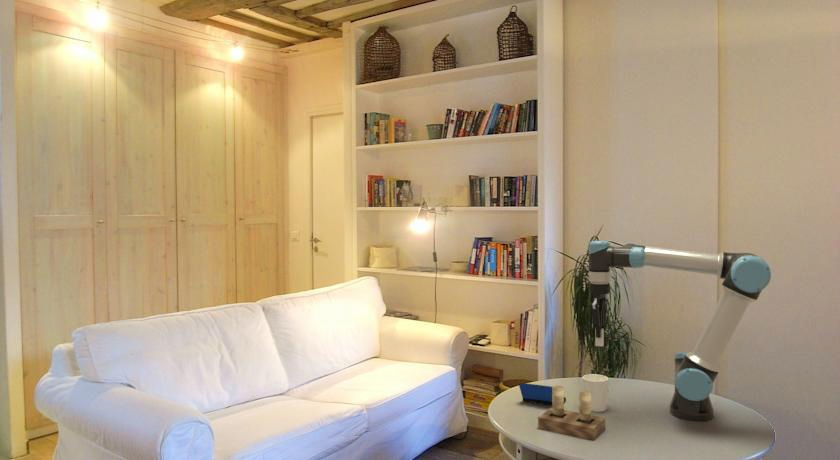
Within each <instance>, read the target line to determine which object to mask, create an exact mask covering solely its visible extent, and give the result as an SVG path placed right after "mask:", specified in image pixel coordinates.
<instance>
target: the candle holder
mask: <svg viewBox="0 0 840 460" xmlns="http://www.w3.org/2000/svg"><path fill="white" fill-rule="evenodd" d="M581 377H582V390H587V391H590V392H591V412H595V413H601V412H605V411H607V409H608V395H609V393H608V392H609V380H610V379H609V377H608V376H606V375H603V374H599V373H598V374H596V373H589V374H584V375H583V376H581Z"/></svg>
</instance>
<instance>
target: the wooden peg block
mask: <svg viewBox="0 0 840 460" xmlns="http://www.w3.org/2000/svg"><path fill="white" fill-rule="evenodd" d="M578 393H579V395H578V398H579V399H578V400H579V403H578V404H579V405H578V406H579V411H578V412H576V411H571V410H566V409H564V418H557V417H552V407H550V408H549V409H548V410H546V411H545V412H544V413H542V414H541V415H539V416H538V418H537V423H538V424H537V425H538V426H537V428H538V429H539V430H545V431H548V432H553V433H558V434H561V435H562V434H563V435H567V436H571V437H577V438H581V439H584V440H585V439H586V440H590V441H595V440H596V439H597V438H598V437H599V436H601V434H602V433H603V432H604V431H605V430H606V417H602V416H597V415H593V414H592V411H591V392H590V391H587V390H583V389H581V390H579V392H578Z"/></svg>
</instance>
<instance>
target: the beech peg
mask: <svg viewBox="0 0 840 460" xmlns="http://www.w3.org/2000/svg"><path fill="white" fill-rule="evenodd" d="M551 387H552V406H551V408H552V417H557V418H564V410H565V402H564V397H565V395H564V393H565V388H564V386H561V385H553V386H551Z"/></svg>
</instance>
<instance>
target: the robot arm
mask: <svg viewBox="0 0 840 460" xmlns="http://www.w3.org/2000/svg"><path fill="white" fill-rule="evenodd" d="M644 267H652V268H660V269H666V270H667V269H668V270H674V271H683V272H690V273H695V274H696V273H699V274H705V275H711V276H712V275H714V276H716V277H717V278H718V279H723V282H722V283H721V287H722V290H723V292H722V294H721V296H720V298H719V300H718V302H717V304H716V306H715V308H714V309H713V312H712V314H711V316H710V317H709V319H708V322H707V323H706V325H705V328H703V331H702V333H701V335H700V337H699V339H698V341H697V342H696V344H695V347H693V348H694V349H693V350H692V351H678V352H676V353H674V354H675V355H674V359H673V360H674V392H673V396H672V398H671V400H670V403H669V413H670V414H671V415H672V416H674V417H677V418H680V419H683V420H689V421H709V420H712V419H713V418H714V417H715V409H714V407H713V404H712V401H711V398H710V395H711V393H712V391H713V388H714V382H715V380H716V378H717V376H718V374H719V373H720V368H719V362H720V360H721V358H722V356H723V354H724V353H725V350H726V349H727V347H728V345H729V343H730V341H731V339H732V338H733V335H734V333H735V331H736V330H737V328H738V326H739V324H740V322H741V320H742V317H743V316H744V315H745V312H746V310H747V309H748V307H749V306H750V305H749V304H750V303H752V302H757V300H758V299H759V297H760V295H761V293H762V291H763V290H764V289H766V287H767V286H769V284H770V282H771V279H772V273H771V267H770V265H769V264H768V262H767V261H766V260H764V259H763V258H761V257H759V256H758V255H756V254H754V253H750V252H724V251H721V252H720V253H717V254H716V253H708V252H700V251H692V250H682V249H676V248H666V247H656V246H650V245H649V246H648V245H639V244H635V243H626V244H624V245H622V246H612V245H611V243H610V241H608V240H592V241H591V242H589V244H588V273H587V276H588V281H589V283H588V293H589V294H591V295H592V296H593V297H592V300H591V301H592V302H591V303H590V306H589V307H590V309H591V311H590V312H591V321H592V329H594V331H595V333H594V335H595V337H594V338H595V339H594V343H595V344H594V345H595V347H604V345H605V343H604V342H605V341H604V340H605V338H604V337H605V336H604V335H605V333H604V329H607V313H608V312H607V311H608V304H609V299H607V298H606V295H609V294H610V293H611V285H610V282H611V270H610V269H611V268H629V269H630V268H632V269H638V268H644Z"/></svg>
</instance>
